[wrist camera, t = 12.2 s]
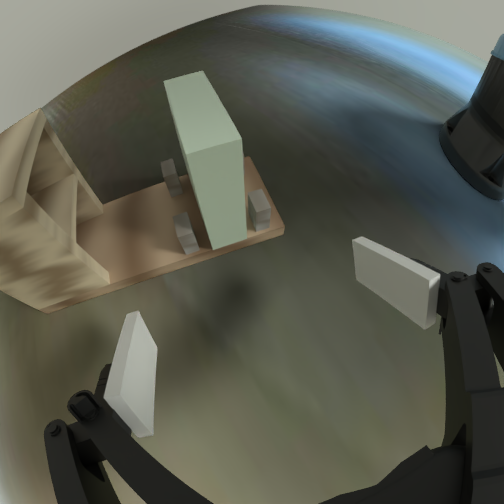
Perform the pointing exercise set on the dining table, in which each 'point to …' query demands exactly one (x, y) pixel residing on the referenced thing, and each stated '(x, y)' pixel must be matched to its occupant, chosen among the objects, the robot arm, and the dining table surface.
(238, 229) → the pale green block
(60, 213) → the wooden rack
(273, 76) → the dining table surface
